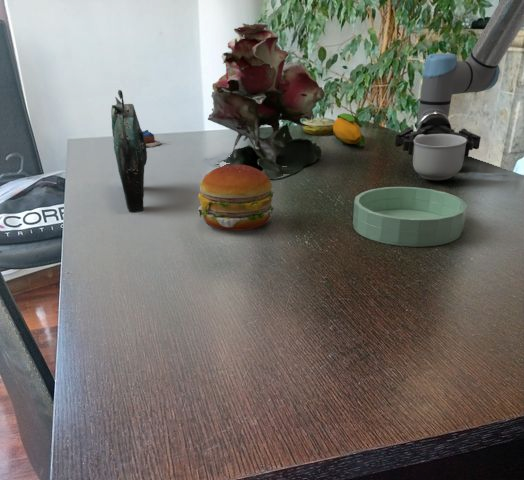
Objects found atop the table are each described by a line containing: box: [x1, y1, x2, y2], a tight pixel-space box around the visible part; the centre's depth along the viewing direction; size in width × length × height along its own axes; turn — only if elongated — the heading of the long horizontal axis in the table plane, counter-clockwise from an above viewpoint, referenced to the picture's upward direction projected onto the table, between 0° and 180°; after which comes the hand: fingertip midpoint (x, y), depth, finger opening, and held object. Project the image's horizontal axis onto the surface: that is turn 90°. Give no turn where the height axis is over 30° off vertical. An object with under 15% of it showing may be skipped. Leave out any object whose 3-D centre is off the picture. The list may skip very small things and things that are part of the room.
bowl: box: [352, 186, 468, 248], centre depth 98 cm, size 19×19×4 cm
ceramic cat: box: [110, 89, 148, 213], centre depth 111 cm, size 20×6×20 cm, turn 12°
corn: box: [332, 112, 366, 147], centre depth 155 cm, size 7×8×20 cm
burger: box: [197, 165, 275, 231], centre depth 100 cm, size 14×14×10 cm
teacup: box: [412, 134, 467, 181], centre depth 123 cm, size 14×11×8 cm
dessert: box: [142, 129, 162, 148], centre depth 159 cm, size 8×7×6 cm
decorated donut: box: [301, 117, 336, 136], centre depth 171 cm, size 10×11×4 cm
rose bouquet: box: [207, 22, 326, 180], centre depth 133 cm, size 26×29×30 cm
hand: (439, 149), depth 120 cm, fingers closed on teacup, 11 cm apart
